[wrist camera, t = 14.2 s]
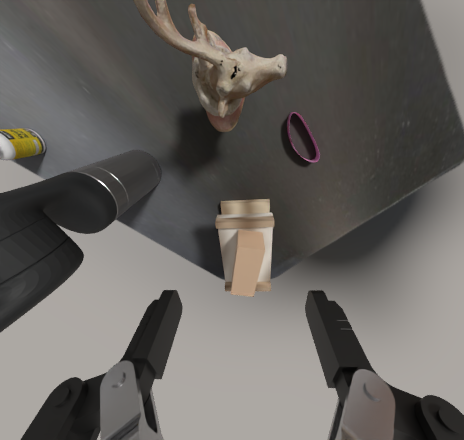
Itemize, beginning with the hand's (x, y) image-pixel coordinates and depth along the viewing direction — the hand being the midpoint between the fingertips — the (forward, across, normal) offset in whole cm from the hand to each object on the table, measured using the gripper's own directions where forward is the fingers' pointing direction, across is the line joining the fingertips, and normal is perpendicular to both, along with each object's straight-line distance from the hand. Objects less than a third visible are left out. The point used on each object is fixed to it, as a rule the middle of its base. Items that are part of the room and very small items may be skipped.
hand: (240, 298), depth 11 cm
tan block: (+20, 0, +15) cm, 25 cm away
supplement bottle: (+34, +47, -8) cm, 59 cm away
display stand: (+34, 0, +15) cm, 37 cm away
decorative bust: (+34, +1, -13) cm, 37 cm away
